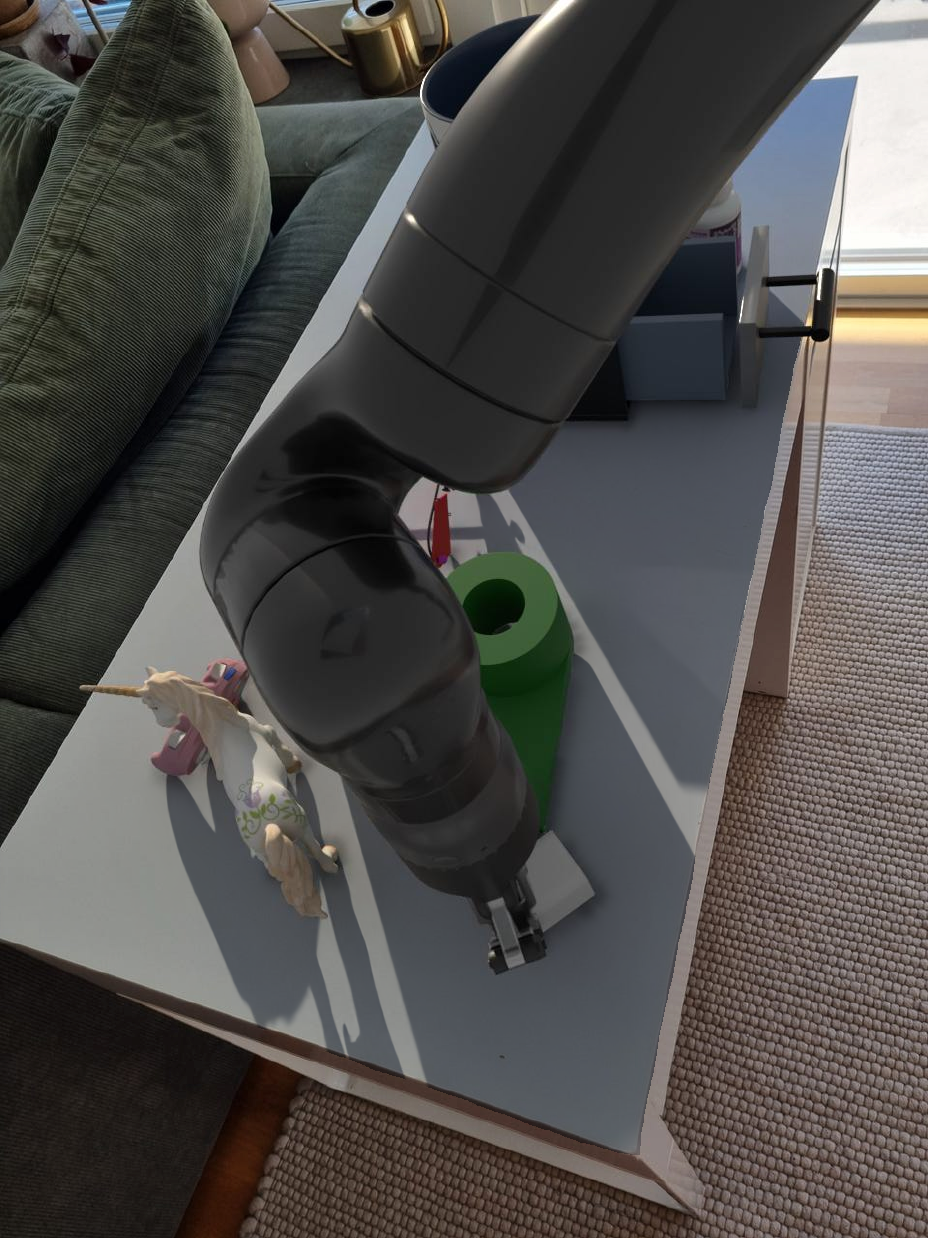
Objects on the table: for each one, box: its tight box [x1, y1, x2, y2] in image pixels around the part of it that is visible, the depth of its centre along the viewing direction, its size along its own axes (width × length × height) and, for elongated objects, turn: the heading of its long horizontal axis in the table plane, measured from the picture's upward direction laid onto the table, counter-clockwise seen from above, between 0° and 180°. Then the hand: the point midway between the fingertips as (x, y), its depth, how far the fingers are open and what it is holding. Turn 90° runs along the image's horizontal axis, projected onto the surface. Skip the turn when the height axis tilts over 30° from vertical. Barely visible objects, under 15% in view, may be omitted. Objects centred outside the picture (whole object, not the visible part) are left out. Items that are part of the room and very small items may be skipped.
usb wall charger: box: [489, 829, 596, 941], centre depth 59 cm, size 4×7×4 cm, turn 122°
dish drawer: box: [617, 225, 836, 409], centre depth 77 cm, size 19×11×9 cm, turn 75°
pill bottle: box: [686, 175, 743, 275], centre depth 84 cm, size 5×5×10 cm
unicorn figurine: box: [79, 665, 339, 920], centre depth 63 cm, size 7×20×13 cm, turn 45°
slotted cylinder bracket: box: [445, 551, 575, 833], centre depth 65 cm, size 18×9×6 cm, turn 167°
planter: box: [419, 13, 543, 150], centre depth 92 cm, size 18×18×16 cm
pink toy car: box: [150, 657, 251, 777], centre depth 72 cm, size 10×5×7 cm, turn 155°
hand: (514, 899), depth 59 cm, fingers closed on usb wall charger, 4 cm apart
